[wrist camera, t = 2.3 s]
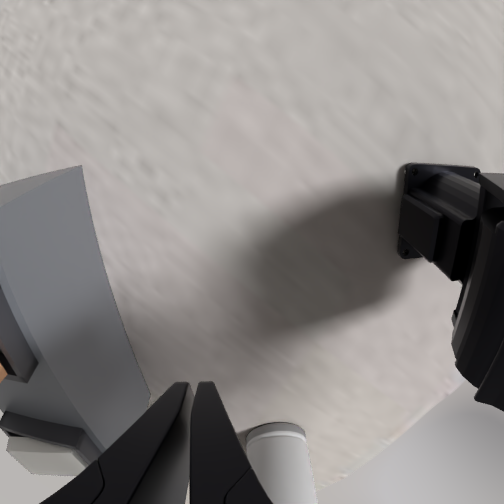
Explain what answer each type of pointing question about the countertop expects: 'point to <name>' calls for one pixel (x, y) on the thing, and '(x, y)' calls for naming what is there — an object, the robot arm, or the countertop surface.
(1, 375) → the orange rocker
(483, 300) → the robot arm
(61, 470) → the white rocker
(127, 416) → the switch box
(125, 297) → the countertop surface
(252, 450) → the travel mug
